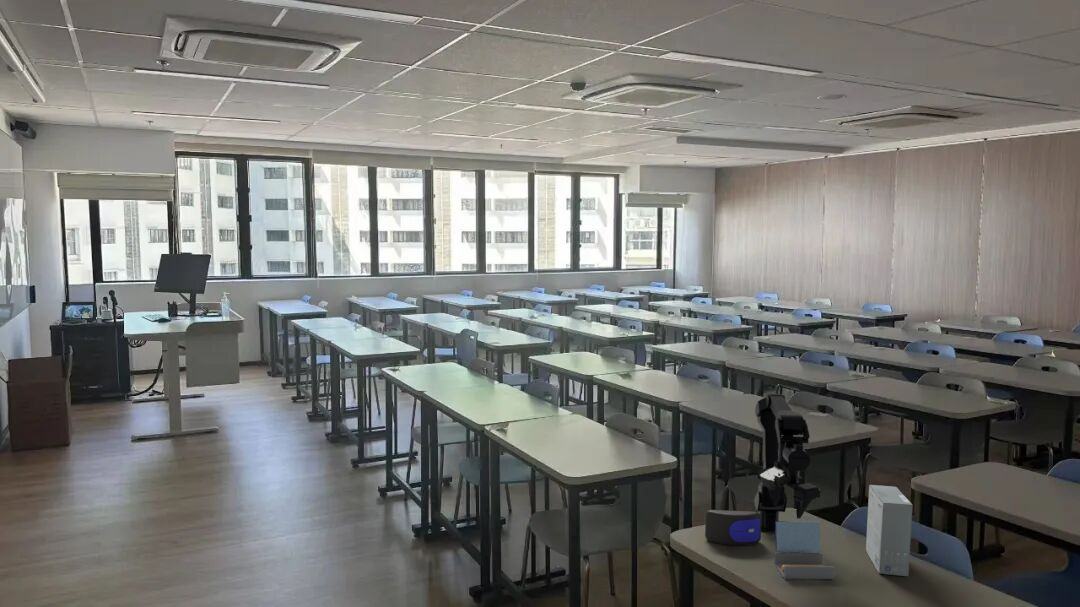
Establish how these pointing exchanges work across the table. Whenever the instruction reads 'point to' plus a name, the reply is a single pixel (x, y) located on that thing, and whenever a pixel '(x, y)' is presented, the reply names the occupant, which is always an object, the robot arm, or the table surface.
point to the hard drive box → (889, 530)
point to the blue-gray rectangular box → (797, 536)
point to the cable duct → (802, 566)
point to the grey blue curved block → (733, 527)
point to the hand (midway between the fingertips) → (786, 512)
